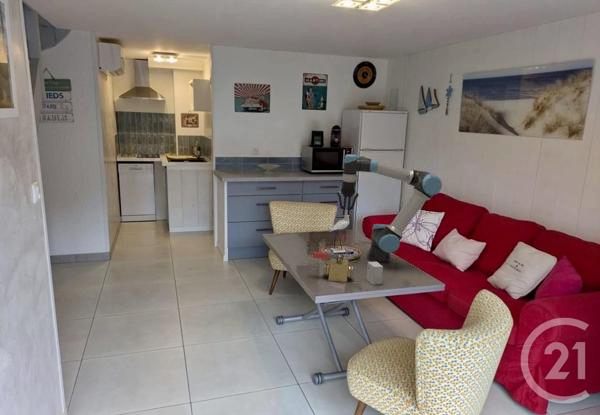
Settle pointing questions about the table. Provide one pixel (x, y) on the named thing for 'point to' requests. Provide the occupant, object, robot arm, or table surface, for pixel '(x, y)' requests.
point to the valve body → (338, 270)
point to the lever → (327, 255)
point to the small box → (374, 273)
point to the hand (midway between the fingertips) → (345, 220)
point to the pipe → (351, 270)
